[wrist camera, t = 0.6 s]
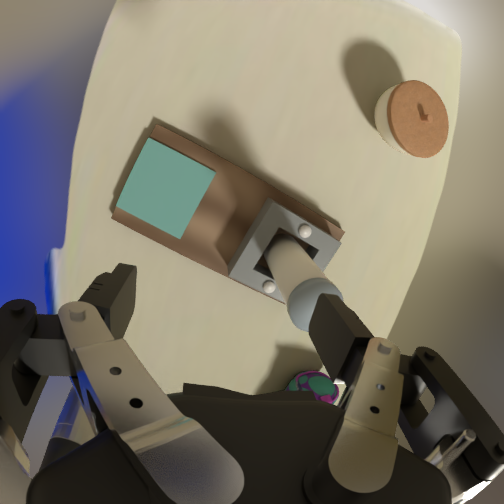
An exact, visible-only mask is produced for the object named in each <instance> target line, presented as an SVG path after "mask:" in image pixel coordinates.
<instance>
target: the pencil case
mask: <svg viewBox="0 0 504 504" xmlns="http://www.w3.org/2000/svg"><path fill="white" fill-rule="evenodd" d="M285 391H313V393H314V395H315V398H316V400H321V401H325V402H328V403H331V404H334V403H335V402H336V400H337V398H338V396H339V389H338V386H337V385H336V384H333V382H332V380H331V378H330V377H329V376H327V375H326V374H324V373H322V372H318V371H314V370H313V371H305V372H302V373H299V374H298V375H296V377H295V378H294V379H293V380H291V382H290V383H289V385H288V386H287V388H286V389H285Z"/></svg>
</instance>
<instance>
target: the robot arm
mask: <svg viewBox="0 0 504 504" xmlns="http://www.w3.org/2000/svg"><path fill="white" fill-rule="evenodd" d="M136 276H137V267H136V266H133V265H128V264H122V263H119V264H118V265H117V266H116V268H115V269H114V270H113V272H112V273H108V272H105V273H103V274H101V275H99V276H97V277H96V278H95V280H94V281H93V282H92V284H91V285H90V286H89V287H88V288H87V290H86V291H85V292H84V294H83V295H82V296H81V297H80V299H79V300H78V301H75V302H69V303H66V304H64V305H63V306H62V307H60V309H59V311H58V314H56V315H44V314H37V311H36V306H35V305H34V303H32V302H31V301H29V300H24V299H16V300H11V301H9V302H7V303H5V304H4V305H3V306H2V307H1V308H0V504H464V503H465V502H466V501H467V500H469V499H470V498H472V497H474V496H475V495H476V494H478V493H479V492H480V491H481V490H482V489H484V488H485V487H486V486H487V485H488V484H489V483H491V482H492V481H493V480H494V479H495V478H496V476H497V475H498V474H499V473H500V472H501V471H502V470H504V434H503V433H502V432H501V430H500V429H499V428H498V426H497V425H496V424H495V422H494V421H493V420H492V418H491V417H490V416H489V414H488V413H487V412H486V411H485V409H484V408H483V407H482V405H481V404H480V403H479V402H478V400H477V399H476V398H475V397H474V396H473V394H472V393H471V392H470V390H469V389H468V388H467V387H466V385H465V384H464V383H463V382H462V381H461V379H460V378H459V377H458V376H457V375H456V373H455V372H454V371H453V370H452V369H451V368H450V366H449V365H448V364H447V363H446V362H445V361H444V359H443V358H442V357H441V356H440V355H439V354H438V353H437V352H435V351H434V350H432V349H430V348H427V347H418V348H416V350H415V352H414V354H413V355H412V356H407V355H402V354H400V349H399V348H398V346H397V345H395V344H394V343H393V342H391V341H389V340H387V339H384V338H380V337H374V336H373V335H372V333H371V332H370V331H369V330H368V328H367V327H366V326H365V325H364V324H363V322H362V321H361V320H360V319H359V317H358V316H357V315H356V313H355V312H354V311H352V310H351V309H350V308H348V307H347V306H346V305H345V303H344V302H343V301H342V300H341V298H340V297H339V296H338V295H335V294H327V293H321V294H320V295H319V297H318V299H317V302H316V305H315V308H314V311H313V314H312V317H311V320H310V323H309V336H310V338H311V340H312V342H313V344H314V346H315V348H316V350H317V352H318V354H319V356H320V358H321V360H322V362H323V364H324V366H325V368H326V370H327V372H328V374H329V376H330V378H331V380H332V382H333V384H340V383H345V384H346V388H345V390H344V392H343V394H342V396H341V399H340V401H339V403H338V405H337V406H336V405H333V404H331V403H328V402H325V401H321V400H316V398H315V395H314V393H313V391H278V392H272V393H266V394H260V395H248V394H243V393H239V392H235V391H231V390H228V389H224V388H220V387H215V386H206V385H197V384H189V383H184V384H183V392H180V393H172V394H167V395H166V394H165V393H164V392H163V390H162V389H161V388H160V387H159V385H158V384H157V383H156V382H155V380H154V379H153V378H152V376H151V375H150V374H149V372H148V371H147V370H146V368H145V367H144V366H143V364H142V363H141V362H140V360H139V359H138V357H137V356H136V355H135V353H134V352H133V350H132V349H131V348H130V346H129V345H128V343H127V342H126V340H125V339H123V337H124V334H125V332H126V329H127V327H128V324H129V322H130V320H131V317H132V315H133V312H134V307H135V297H136ZM49 375H50V376H69V377H70V380H71V382H72V385H73V386H72V388H71V390H70V392H69V394H68V397H67V399H66V402H65V404H64V406H63V408H62V411H61V413H60V415H59V418H58V420H57V423H56V425H55V428H54V431H53V433H52V436H51V439H50V441H49V444H48V447H47V450H46V453H45V456H44V459H43V461H42V464H41V467H40V469H39V472H38V473H37V474H36V475H35V476H34V477H33V479H32V478H30V475H29V467H30V460H29V457H28V454H27V452H26V450H25V449H24V447H23V446H22V441H23V438H24V435H25V433H26V430H27V427H28V424H29V422H30V419H31V416H32V414H33V412H34V409H35V407H36V404H37V402H38V400H39V397H40V395H41V393H42V390H43V388H44V386H45V384H46V381H47V379H48V377H49ZM427 387H428V389H429V390H430V391H431V393H432V394H433V396H434V398H435V405H434V408H433V409H432V410H431V412H430V413H429V414H428V412H427V410H426V409H425V407H424V406H423V404H422V403H421V401H420V400H419V398H420V397H421V395H422V394H423V392H424V391H425V389H426V388H427ZM397 423H398V424H399V426H400V428H401V429H402V431H403V433H404V435H405V437H406V439H407V440H408V443H409V445H410V447H411V448H412V450H413V452H414V453H412V452H410V451H409V450H407V449H405V448H404V447H402V446H400V445H399V444H398V439H397V438H396V437H395V434H396V428H397Z"/></svg>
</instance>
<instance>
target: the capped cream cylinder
mask: <svg viewBox="0 0 504 504" xmlns="http://www.w3.org/2000/svg"><path fill="white" fill-rule="evenodd" d="M263 254H264V258H265V260H266V262H267V264H268V266H269V269H270V271H271V273H272V275H273V277H274V280H275V282H276V284H277V286H278V288H279V291H280V293H281V295H282V297H283V300H284V302H285V304H286V306H287V310H288V313H289V316H290V318H291V320H292V322H293V324H294V325H295V326H296V327H297V328H299V329H301V330H303V331H307V332H309V323H310V320H311V317H312V314H313V311H314V308H315V305H316V302H317V299H318V297H319V295H320V294H321V293H327V294H335V295H338V296H339V297H340V298H341V300H342V301H343V297H342V294H341V292H340V291H339V290H338V288H337V287H336V286H335V285H334V284H333V283H332V282H331V281H330V280H329V279H328V278H327V277H326V276H325V274H324V273H323V272H322V271H321V270H320V268H319V267H318V266H317V265H316V264H315V262H314V261H313V260H312V259H311V258H310V256H309V255H308V254H307V253H306V252H305V251H304V249H303V248H302V247H301V246H300V245H299V244H298V242H297V241H296V240H295V239H294V238H293V237H292V236H290V235H288V234H284V233H280V234H276V235H274V236H273V238H272V239H271V241H270V243H269V244H268V246H267V247H266V249H265V251H264V252H263Z"/></svg>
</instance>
